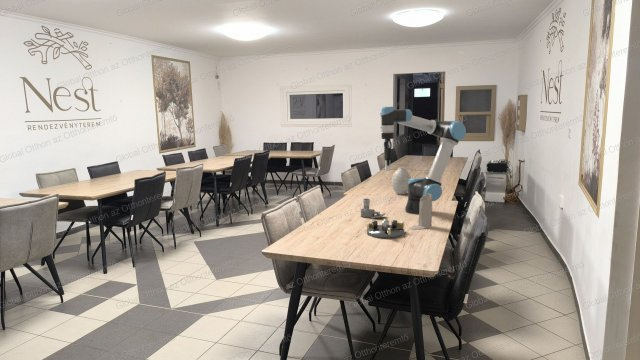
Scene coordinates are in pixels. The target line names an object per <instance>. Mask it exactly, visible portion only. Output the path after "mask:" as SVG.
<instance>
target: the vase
mask: <svg viewBox="0 0 640 360" xmlns="http://www.w3.org/2000/svg"><path fill="white" fill-rule="evenodd" d="M409 179H412V177H411V174H410V173H409V172H408V170H407V169H406V168H405V166H399V167H398V168H397V169H396V170H395V171H394V173H393V174H392V177H391V187H392V189H393V191H394V192H395V193H396V195H399V196H404V195H406V194H408V181H409Z"/></svg>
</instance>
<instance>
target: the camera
mask: <svg viewBox="0 0 640 360" xmlns="http://www.w3.org/2000/svg"><path fill="white" fill-rule="evenodd" d="M362 203H363V208H361V209H360V218H368V219H378V218H382V217H383V216H384V217H385V215H386V213H385V212H384V213H383V212H382V213H380V211H376V210H375V209H373V208H370V203H371V199H370V198H364V199H363V200H362Z"/></svg>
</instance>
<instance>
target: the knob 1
mask: <svg viewBox="0 0 640 360" xmlns="http://www.w3.org/2000/svg"><path fill="white" fill-rule="evenodd" d="M378 225H379V224H378V220H372V221H371V222H367V223H366V230H367V229H372V228H373V229H377V228H378Z"/></svg>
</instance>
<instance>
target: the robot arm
mask: <svg viewBox="0 0 640 360" xmlns="http://www.w3.org/2000/svg"><path fill="white" fill-rule="evenodd" d="M380 111H381V112H380V113H381V114H380V116H381V117H380V119H381V125H380V129H381V135H380V136H381V139H382V140H384V142H383V149H384V150H383V151H384V162H385V165H384V168H385V172H388V171H391V160H392V149H393V148H392V147H393V145H392V141H391V140H393V139H394V138H395V133H394V131H395V124H398V125H403V126H406V127H410V128H413V129H417V130H421V131H423V132H427V134H429V135H433V136H435V137H438V138H440V141H441V142H440V144H439V147H438V149H437V151H436V155H435V157H434V159H433V161H432V164H431V167H430V169H429V172H428V174H427V175H426V176H424V177H413V178H411V179H409V181H408V192H407V202H406V205H405V208H404V209H405V210H404V211H405V212H406V213H408V214H415V215H419V211H420V198H422V197H423V195H426V193H429V194H431V195H432V202H436V201H438V200H440V198H441V197H442V195H443V190H442V189H443V188H442V185H443V184H442V179H443V178H442V177H443V175H444V173H445V170H446V168H447V165H448V163H449V161H450V158H451V156H452V153H453V151H454V148H455V146H457V145H458V144H459V141H462V140H463V139H464V138H465V136H466V134H467V133H466V132H467V130H466V129H467V128H466V126H465V125H464V123H462V122H461V121H457V120H454V121H453V120H436V119H430V120H429V119H426V118H422V117H420V116H415V115H413V112H412V109H407V108H405V109H395V108H394V106H382V107H381V109H380Z"/></svg>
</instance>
